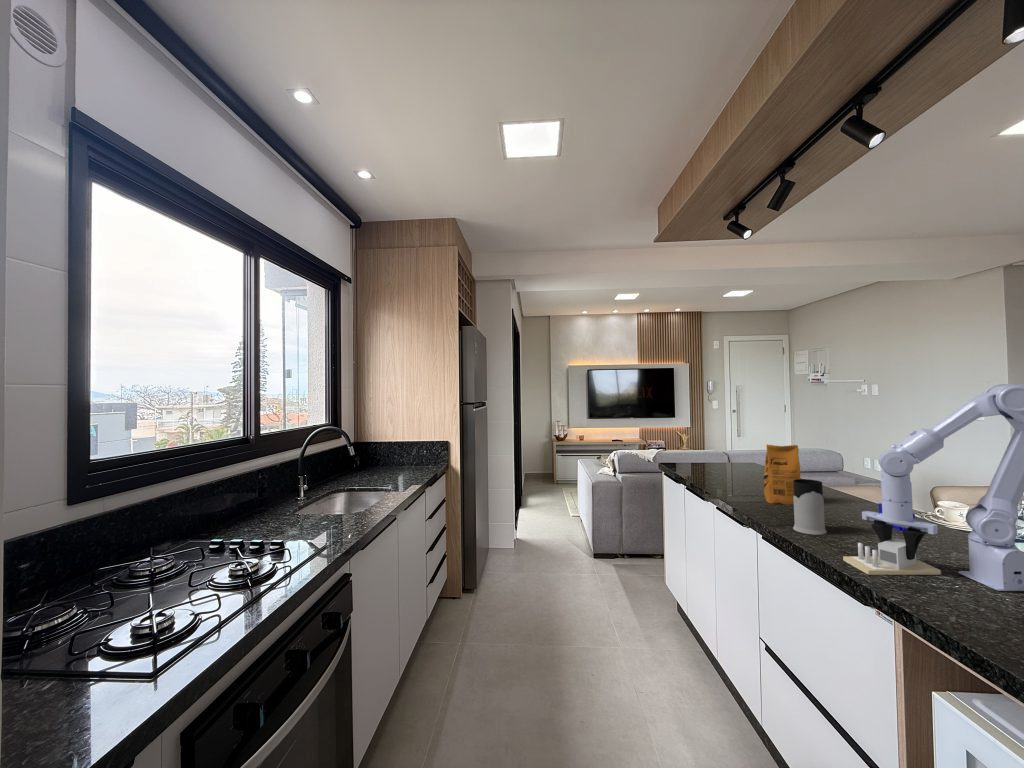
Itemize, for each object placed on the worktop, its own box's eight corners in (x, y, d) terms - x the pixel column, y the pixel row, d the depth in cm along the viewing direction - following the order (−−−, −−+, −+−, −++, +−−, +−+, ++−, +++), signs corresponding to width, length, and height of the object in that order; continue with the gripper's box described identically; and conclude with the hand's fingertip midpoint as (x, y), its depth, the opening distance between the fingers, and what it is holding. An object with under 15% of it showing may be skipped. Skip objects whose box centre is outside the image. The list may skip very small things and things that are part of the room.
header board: (941, 574, 105) (940, 553, 105) (868, 574, 106) (867, 553, 106) (909, 560, 114) (909, 540, 114) (843, 560, 115) (842, 540, 115)
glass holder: (799, 534, 136) (797, 484, 136) (782, 520, 150) (780, 475, 150) (832, 535, 134) (830, 484, 134) (812, 521, 148) (810, 475, 148)
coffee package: (763, 497, 180) (760, 442, 181) (799, 500, 175) (797, 443, 176) (765, 503, 171) (763, 445, 172) (803, 506, 166) (801, 446, 166)
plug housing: (928, 558, 112) (927, 538, 112) (898, 569, 106) (897, 548, 106) (909, 553, 116) (908, 533, 116) (878, 564, 109) (877, 543, 110)
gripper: (943, 504, 105) (945, 562, 105) (871, 492, 118) (874, 544, 118) (927, 508, 102) (930, 568, 102) (856, 495, 115) (858, 549, 115)
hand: (899, 555), depth 110 cm, fingers closed on plug housing, 4 cm apart
